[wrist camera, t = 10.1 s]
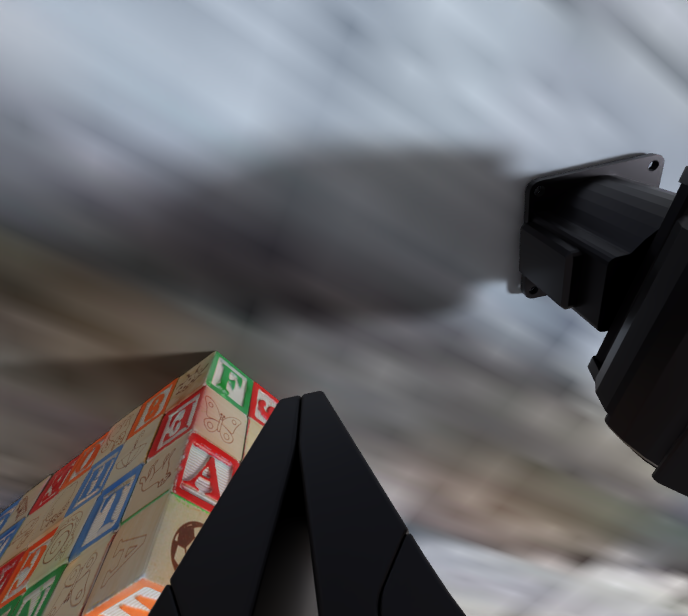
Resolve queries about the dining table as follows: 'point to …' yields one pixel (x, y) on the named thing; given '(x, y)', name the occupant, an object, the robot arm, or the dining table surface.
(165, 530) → the stack of blocks
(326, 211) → the dining table surface
